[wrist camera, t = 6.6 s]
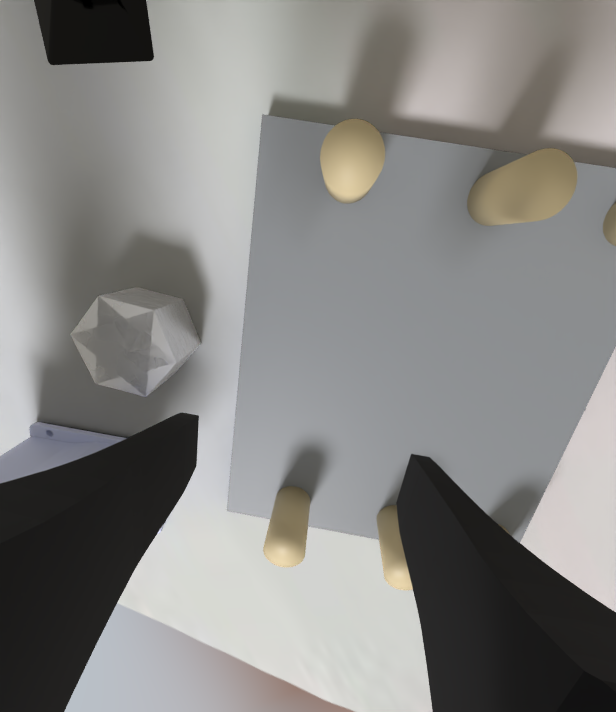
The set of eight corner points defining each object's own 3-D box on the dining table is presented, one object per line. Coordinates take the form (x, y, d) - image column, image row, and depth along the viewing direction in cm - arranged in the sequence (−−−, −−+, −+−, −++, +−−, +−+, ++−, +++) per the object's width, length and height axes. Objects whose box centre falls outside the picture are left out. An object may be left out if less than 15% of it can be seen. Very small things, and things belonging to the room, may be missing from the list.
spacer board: (230, 500, 25) (205, 562, 20) (266, 121, 17) (238, 73, 12) (502, 551, 24) (542, 627, 19) (675, 184, 16) (816, 159, 11)
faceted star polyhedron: (110, 356, 22) (70, 377, 18) (114, 280, 20) (70, 288, 17) (196, 379, 22) (171, 403, 18) (207, 305, 20) (181, 317, 17)
